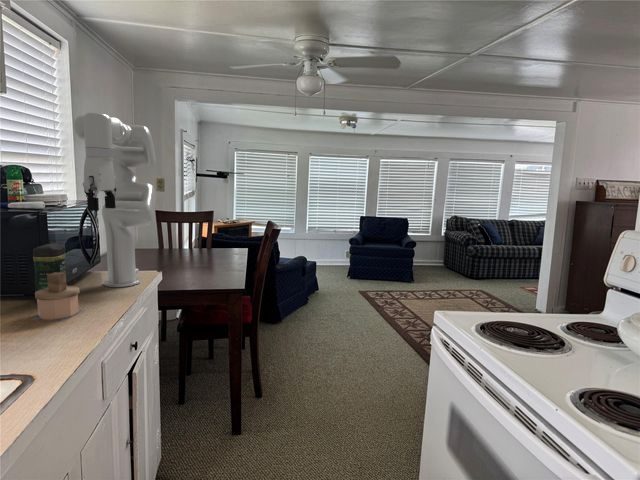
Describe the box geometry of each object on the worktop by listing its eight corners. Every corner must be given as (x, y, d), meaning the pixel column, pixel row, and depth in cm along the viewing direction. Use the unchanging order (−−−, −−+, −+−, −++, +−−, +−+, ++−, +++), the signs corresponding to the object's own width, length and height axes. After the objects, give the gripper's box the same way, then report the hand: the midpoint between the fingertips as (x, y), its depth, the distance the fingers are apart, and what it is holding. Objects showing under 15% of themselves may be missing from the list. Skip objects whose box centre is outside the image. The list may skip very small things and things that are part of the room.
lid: (52, 288, 121) (50, 269, 121) (87, 290, 121) (86, 270, 120) (25, 299, 111) (23, 277, 110) (64, 300, 111) (62, 279, 110)
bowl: (53, 308, 122) (52, 289, 121) (84, 309, 121) (83, 290, 121) (31, 319, 112) (29, 299, 111) (64, 320, 112) (63, 300, 111)
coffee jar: (59, 303, 128) (55, 246, 125) (32, 304, 126) (27, 246, 124) (72, 294, 137) (68, 241, 135) (46, 295, 136) (42, 241, 133)
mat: (53, 309, 122) (53, 308, 122) (86, 310, 122) (86, 309, 122) (29, 321, 112) (29, 319, 112) (64, 322, 112) (64, 321, 112)
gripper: (102, 155, 133) (105, 207, 136) (69, 152, 116) (73, 211, 119) (125, 156, 133) (127, 207, 136) (95, 153, 116) (98, 212, 119)
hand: (102, 209), depth 127 cm, fingers open, 9 cm apart
